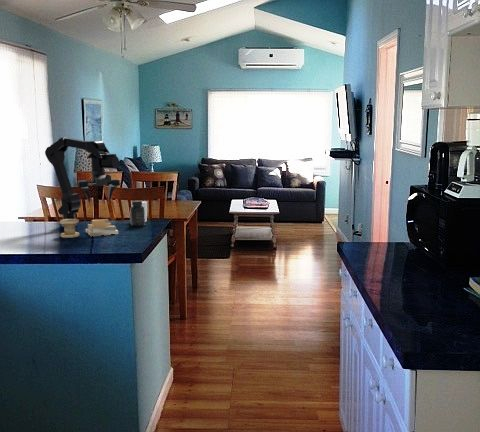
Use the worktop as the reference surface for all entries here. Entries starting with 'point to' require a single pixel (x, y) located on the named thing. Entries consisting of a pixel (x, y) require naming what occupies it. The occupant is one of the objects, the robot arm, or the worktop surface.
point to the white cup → (144, 204)
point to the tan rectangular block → (100, 223)
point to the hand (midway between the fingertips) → (99, 201)
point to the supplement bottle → (137, 214)
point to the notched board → (101, 230)
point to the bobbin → (69, 228)
